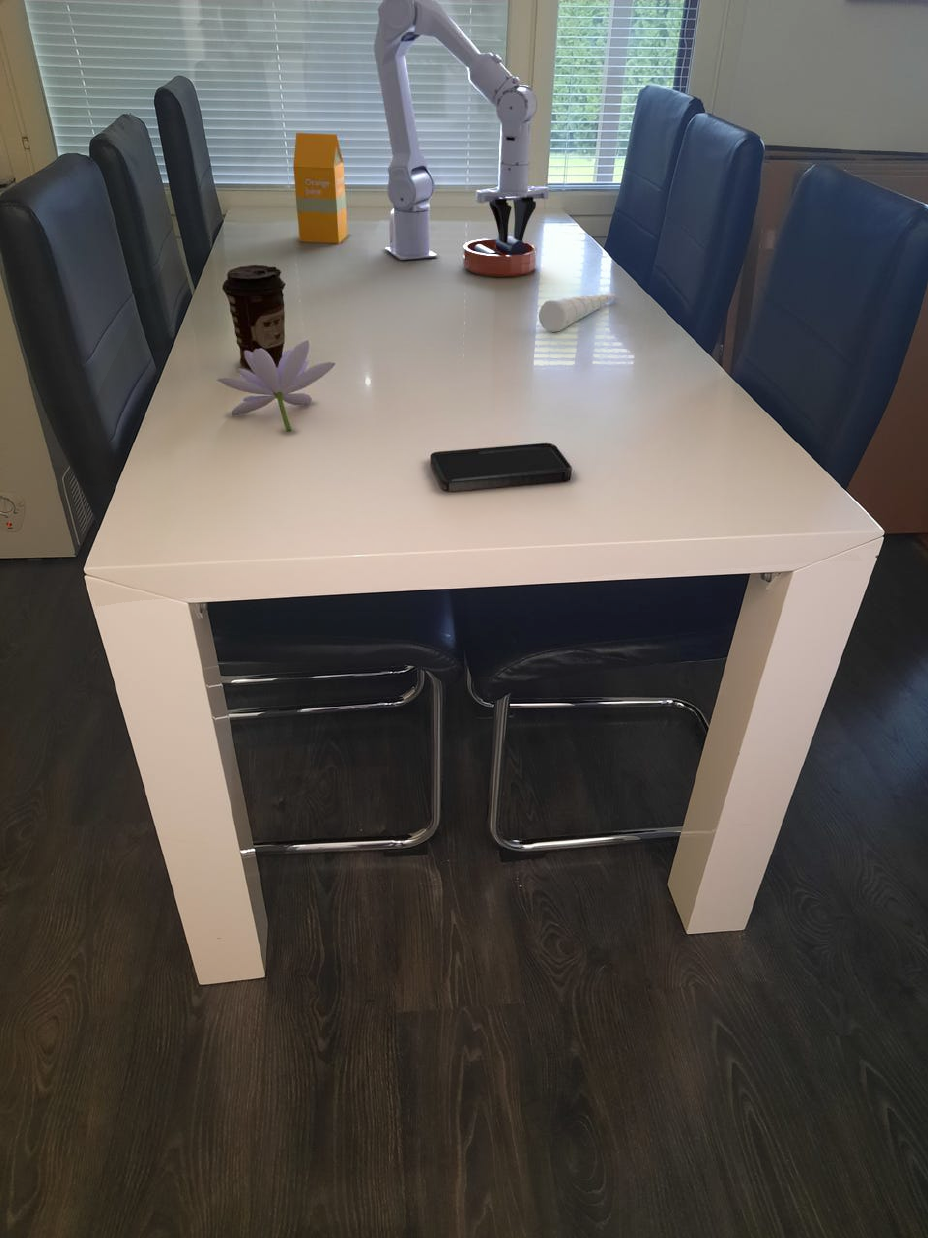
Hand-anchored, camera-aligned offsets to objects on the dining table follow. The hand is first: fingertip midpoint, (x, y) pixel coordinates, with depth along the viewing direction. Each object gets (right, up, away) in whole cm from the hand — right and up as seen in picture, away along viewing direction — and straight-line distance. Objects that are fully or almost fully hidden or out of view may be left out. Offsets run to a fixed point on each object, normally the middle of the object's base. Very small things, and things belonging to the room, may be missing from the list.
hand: (510, 240), depth 167 cm
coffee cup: (-38, -38, -44) cm, 69 cm away
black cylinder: (-4, -4, +1) cm, 6 cm away
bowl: (-2, -4, +2) cm, 5 cm away
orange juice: (-40, +9, +20) cm, 45 cm away
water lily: (-32, -48, -58) cm, 82 cm away
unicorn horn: (+11, -23, -22) cm, 33 cm away
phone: (-5, -57, -70) cm, 90 cm away
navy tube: (-1, -2, 0) cm, 2 cm away
